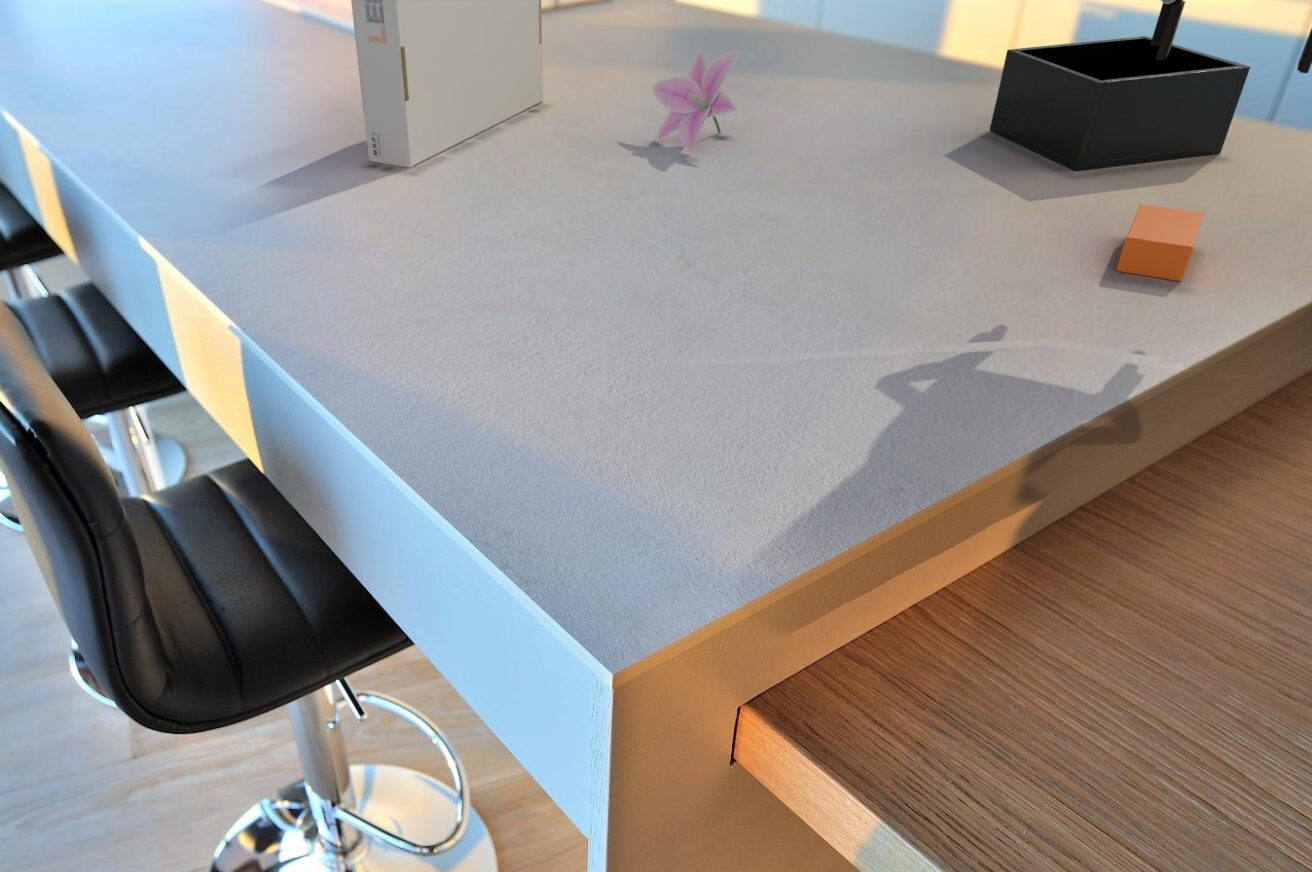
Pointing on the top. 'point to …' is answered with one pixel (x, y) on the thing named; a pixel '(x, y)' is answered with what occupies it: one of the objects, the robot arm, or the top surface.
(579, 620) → the top surface
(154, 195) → the top surface
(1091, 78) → the black open box
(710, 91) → the lily
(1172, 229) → the block
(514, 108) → the packaging
